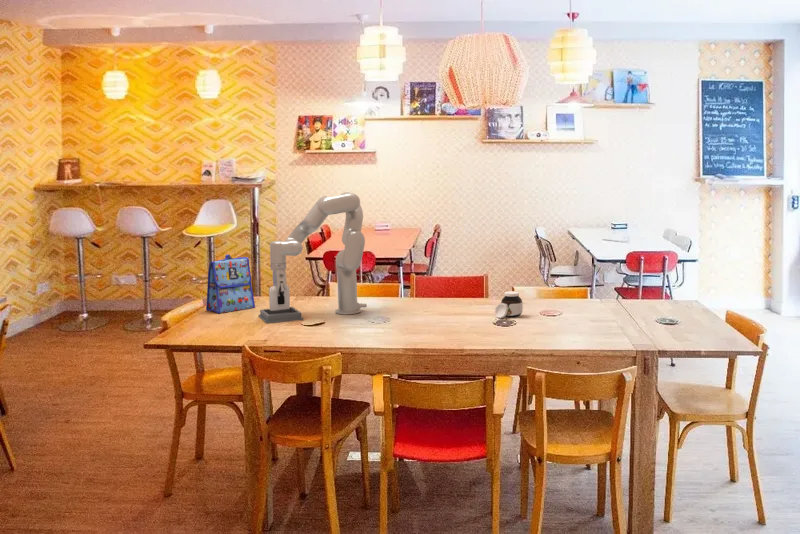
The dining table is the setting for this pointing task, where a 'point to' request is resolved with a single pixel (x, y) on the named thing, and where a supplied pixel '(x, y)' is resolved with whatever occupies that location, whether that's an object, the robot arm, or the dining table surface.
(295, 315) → the tray
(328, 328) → the dining table surface
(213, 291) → the lunch bag
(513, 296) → the spread jar
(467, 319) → the dining table surface
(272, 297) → the photo printer
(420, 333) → the dining table surface
